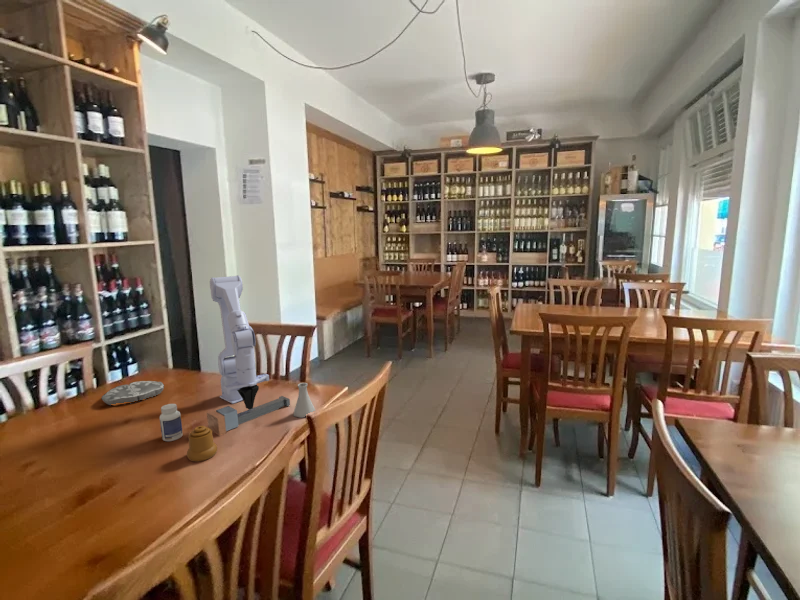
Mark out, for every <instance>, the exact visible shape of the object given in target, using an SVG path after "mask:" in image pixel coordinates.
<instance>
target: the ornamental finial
mask: <svg viewBox="0 0 800 600" xmlns="http://www.w3.org/2000/svg"><path fill="white" fill-rule="evenodd" d="M188 446H189V447H188V449H187V451H186V457H187V459H189V461H192V462H204V461H207V460H209V459H211V458H213V457H214V456H215V455H216V454H217V451H218V445H217V444H216V443H215V442H214V436H213V432H212V430H211V429H209V428H208V426H205V425H199V426H195V428H194V429H192V430H191V431H190V432H189V433H188Z"/></svg>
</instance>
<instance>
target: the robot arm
mask: <svg viewBox="0 0 800 600" xmlns="http://www.w3.org/2000/svg"><path fill="white" fill-rule="evenodd" d="M243 285H244V284H243V279H242V277H241V276H240V275H239V274H238V275H231V276H219V277H217V276H216V277H213V276H212V277H210V280H209V288H210V295H211V299H212V301H213V302H215V303H217V304H218V306H219V309H220V316H221V317H220V318H221V325H222V333H223V339H224V347H225V348H223V350H221V351H220V352H219V353H218V355H217V361H218V371H219V375H221V376H220V377H221V378H220V388H221V395H219V398H221V399H222V400H224V401H226V402H228V403H231V404H236V403H239V402H242V401H243V402H244V406H245V408H246V409H247V410H249V409H252V408H254V403H255V400H256V397H257V394H258V391H259V390H260V386H259V385H257V384H261V383H263V382H269V381H270V375H269V374H267V373H263V374H259V375H257V370H256V361H255V360H256V357H255V348H254V347H256V335H255V331H254V329H253V328H252V326H250V324H249V321H248V320H249V319H248V317H247V314H246V312H245V311H243V310H242V308H241V304H240V303H241V302H240V297H241V295H242V292H243V290H244V289H243V288H244V287H243Z"/></svg>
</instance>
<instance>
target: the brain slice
mask: <svg viewBox="0 0 800 600" xmlns="http://www.w3.org/2000/svg"><path fill="white" fill-rule="evenodd" d="M163 383H164V382H162V381H157V380H156V381H155V380H154V381H153V380H140V381H139V380H138V381H134V382H130V383H129V384H122V385H116V386H115V387H114V388H111V389H109V390H108V391H107V392H105V393H104V394H103V395H102V396H101V398H100V399H101V400H102V401H103V402H104V403H105V404H107V405H108V406H111V404H116V403H124V402H134V401H138V400H143V399H146V398H149V397H152V398H154V397H153V396H155V397H157V396H156V395H158V394H159V395H160V394H162V392H163V391H164V389H165V384H163ZM159 395H158V396H159ZM149 399H150V398H149ZM146 400H147V399H146ZM138 402H139V401H138Z"/></svg>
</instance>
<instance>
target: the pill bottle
mask: <svg viewBox="0 0 800 600" xmlns="http://www.w3.org/2000/svg"><path fill="white" fill-rule="evenodd" d="M160 411H161V413H160V415H159V423H160V424H159V425H160V431H161V433H160V434H161V437H162V438H161V440H163V441H165V442H172V441H176V440H179V439H180V438H182V436H183V433H184V432H183V425H182V424H183V423H182V416H181V412H180V411H179V410H178V406H177V404H176V403H168V404H164V405H162V406H161V407H160Z"/></svg>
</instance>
